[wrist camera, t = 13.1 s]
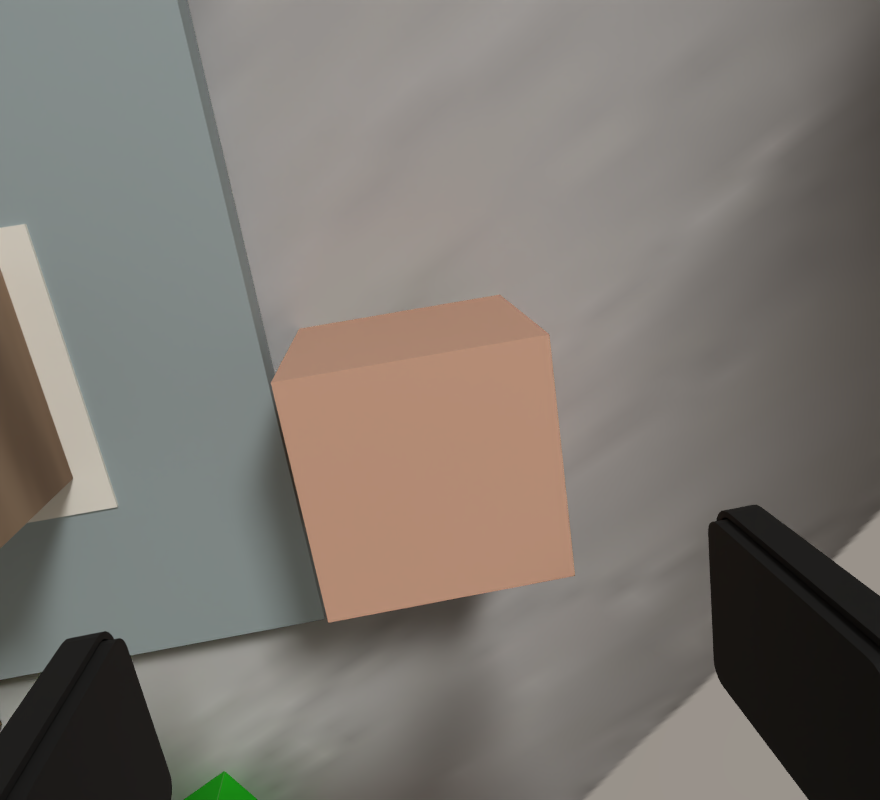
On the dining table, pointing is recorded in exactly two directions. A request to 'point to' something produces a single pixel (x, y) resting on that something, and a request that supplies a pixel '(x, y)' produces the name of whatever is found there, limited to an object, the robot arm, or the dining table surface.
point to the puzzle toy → (221, 790)
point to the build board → (137, 346)
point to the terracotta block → (426, 455)
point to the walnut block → (24, 431)
